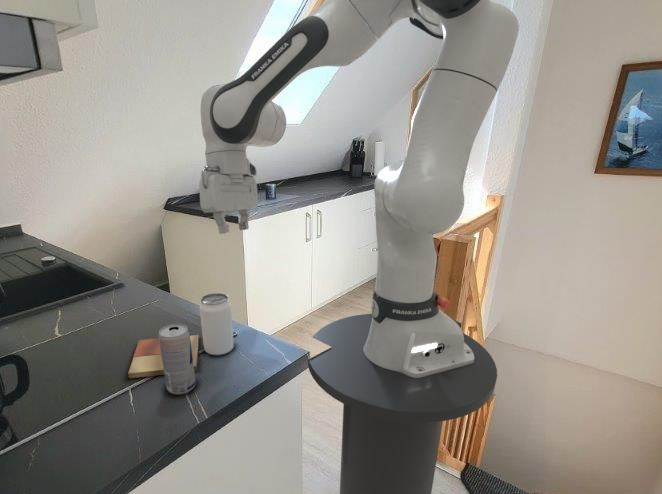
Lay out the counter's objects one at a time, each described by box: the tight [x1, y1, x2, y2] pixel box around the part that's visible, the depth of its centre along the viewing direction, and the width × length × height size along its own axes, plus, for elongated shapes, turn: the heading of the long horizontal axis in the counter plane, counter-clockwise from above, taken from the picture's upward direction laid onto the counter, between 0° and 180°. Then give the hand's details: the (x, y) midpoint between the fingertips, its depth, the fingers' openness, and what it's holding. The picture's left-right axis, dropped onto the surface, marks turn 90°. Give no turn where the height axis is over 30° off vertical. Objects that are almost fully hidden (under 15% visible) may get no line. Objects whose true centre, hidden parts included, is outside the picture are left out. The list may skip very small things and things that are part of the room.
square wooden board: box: [127, 334, 200, 379], centre depth 85 cm, size 13×13×1 cm
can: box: [199, 292, 235, 356], centre depth 86 cm, size 6×6×12 cm
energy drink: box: [157, 323, 197, 396], centre depth 74 cm, size 5×5×12 cm
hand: (234, 231), depth 91 cm, fingers open, 8 cm apart
